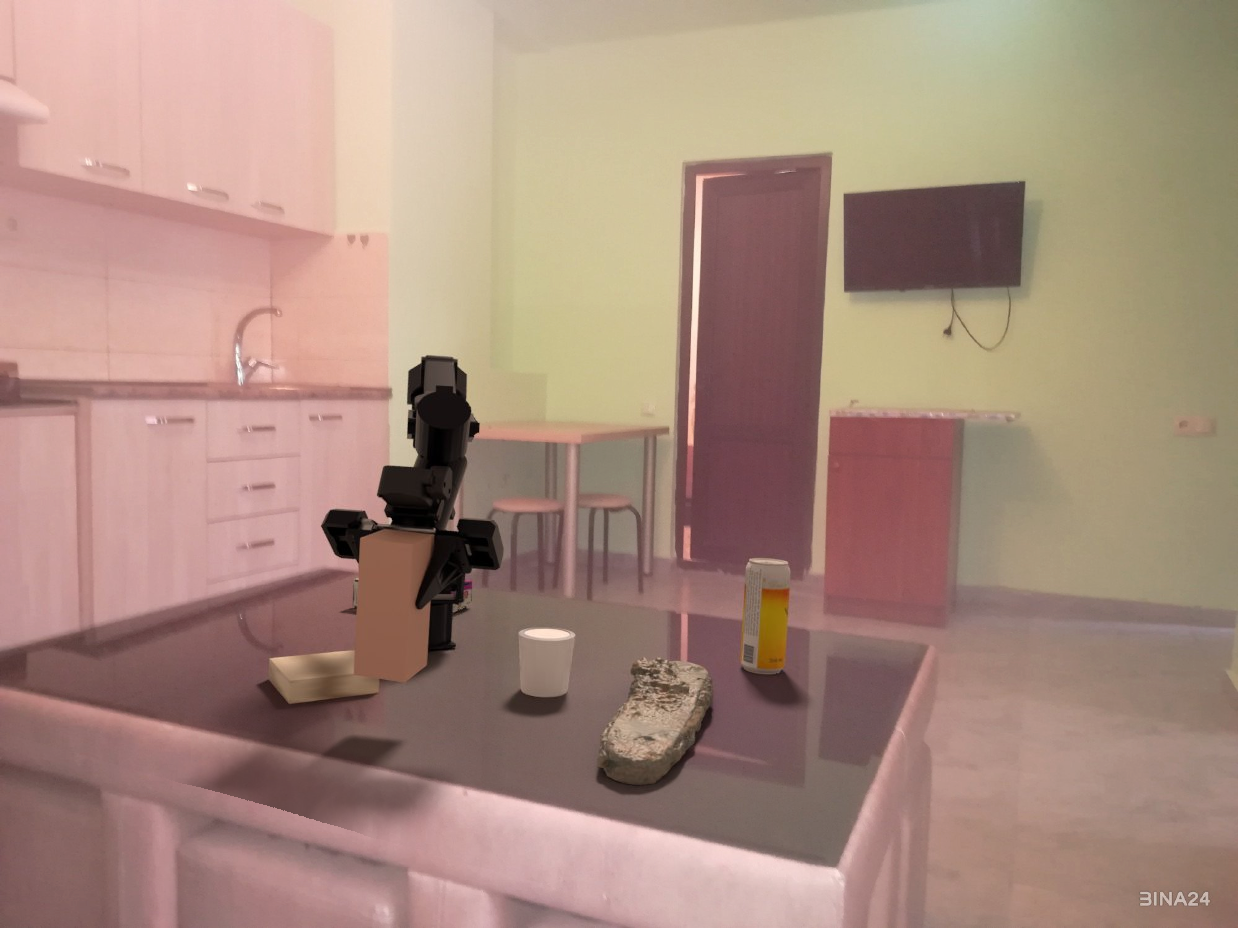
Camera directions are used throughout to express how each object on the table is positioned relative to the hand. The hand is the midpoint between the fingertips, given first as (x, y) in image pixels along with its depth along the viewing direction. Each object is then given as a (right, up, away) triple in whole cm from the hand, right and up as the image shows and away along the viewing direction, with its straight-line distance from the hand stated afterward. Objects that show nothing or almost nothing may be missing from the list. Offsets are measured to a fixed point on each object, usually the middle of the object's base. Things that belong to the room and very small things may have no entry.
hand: (389, 604), depth 89 cm
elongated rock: (+28, -15, +8) cm, 32 cm away
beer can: (+43, -14, +33) cm, 56 cm away
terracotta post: (0, -7, +2) cm, 7 cm away
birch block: (-12, -12, +15) cm, 23 cm away
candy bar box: (-4, -8, +56) cm, 57 cm away
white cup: (+14, -13, +18) cm, 26 cm away
